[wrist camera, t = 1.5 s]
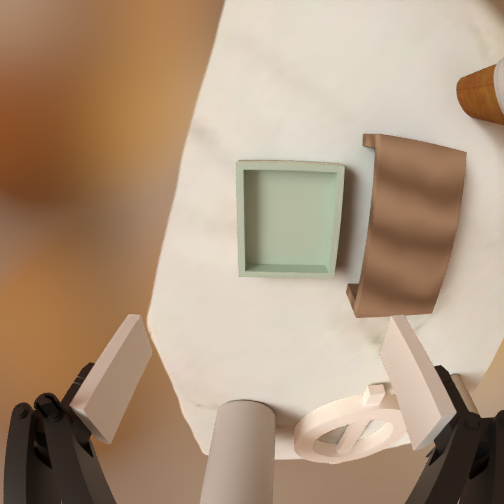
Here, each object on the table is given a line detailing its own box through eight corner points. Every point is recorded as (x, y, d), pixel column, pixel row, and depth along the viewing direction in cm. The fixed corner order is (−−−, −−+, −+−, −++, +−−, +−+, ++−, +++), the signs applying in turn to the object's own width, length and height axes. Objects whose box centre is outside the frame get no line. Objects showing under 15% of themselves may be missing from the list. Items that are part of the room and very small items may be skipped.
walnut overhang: (363, 133, 29) (380, 134, 24) (441, 147, 28) (466, 152, 23) (346, 292, 38) (355, 317, 33) (415, 291, 37) (431, 313, 32)
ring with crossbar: (332, 456, 61) (334, 468, 57) (269, 427, 55) (268, 444, 50) (419, 414, 52) (423, 428, 48) (376, 374, 45) (382, 392, 41)
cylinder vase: (257, 392, 48) (247, 511, 26) (285, 420, 52) (283, 521, 30) (206, 405, 52) (182, 508, 29) (237, 431, 56) (225, 522, 33)
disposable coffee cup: (496, 96, 23) (548, 97, 12) (480, 141, 27) (536, 152, 16) (457, 54, 22) (509, 40, 11) (439, 99, 26) (496, 94, 15)
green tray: (239, 160, 32) (235, 162, 29) (338, 163, 31) (344, 166, 28) (241, 266, 38) (238, 276, 35) (329, 267, 37) (333, 278, 34)
